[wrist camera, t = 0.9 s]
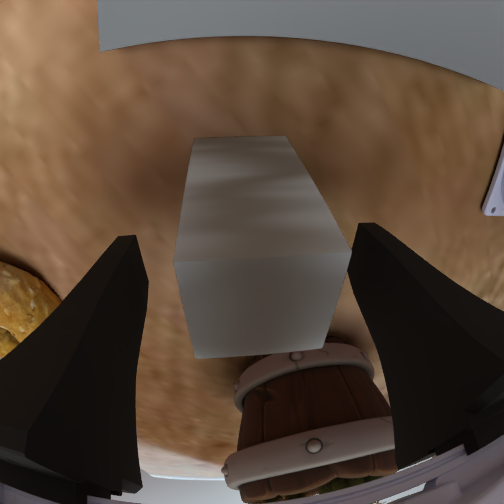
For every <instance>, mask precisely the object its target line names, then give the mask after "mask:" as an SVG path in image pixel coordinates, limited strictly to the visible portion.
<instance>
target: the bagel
mask: <svg viewBox="0 0 504 504" xmlns="http://www.w3.org/2000/svg"><path fill="white" fill-rule="evenodd" d="M60 303H61V301H60V299H59V298H58V296H57V295H56V294H54V293H53V292H52V291H51V290H50V289H49V287H48V286H47V285H46V284H45V283H44V282H43V281H42V280H39V279H38V278H37V277H34V276H33V275H31V274H30V273H28V272H26V271H24V270H22V269H19V268H16V267H14V266H12V265H10V264H7V263H4V262H1V261H0V357H2V358H3V357H4V356H6V355H7V354H8V353H9V352H10V351H12V350H13V349H14V348H15V347H16V346H17V345H18V344H20V343H21V342H22V341H23V340H24V339H25V338H26V337H27V336H28V335H29V334H31V333H32V332H33V331H34V330H35V329H36V328H37V327H38V326H39V325H40V324H41V323H42V322H43V321H44V320H45V319H46V318H47V317H48V316H49V315H50V314H51V313H52V312H53V311H54V310H55V309H56V308H57V307H58V306H59V305H60Z"/></svg>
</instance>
